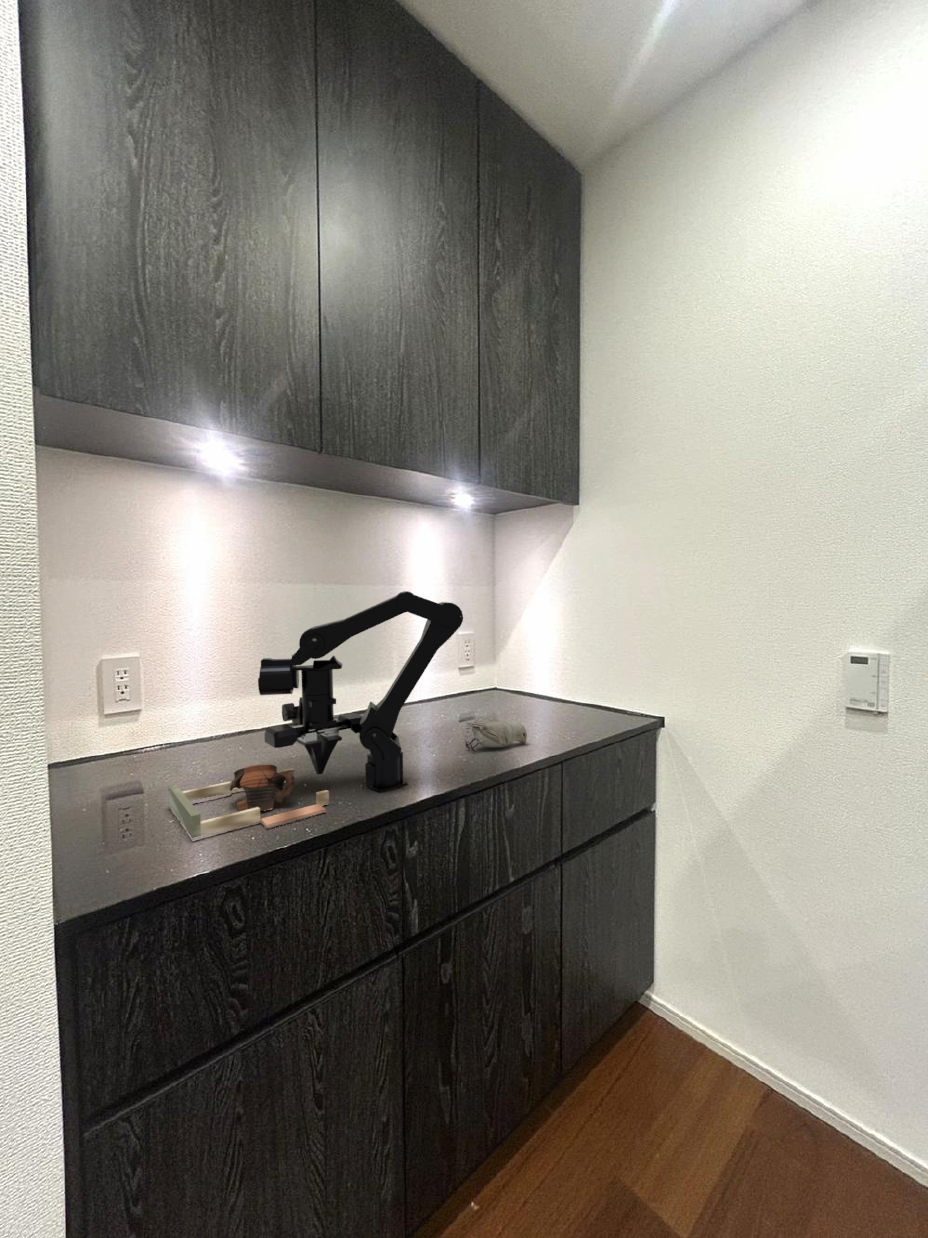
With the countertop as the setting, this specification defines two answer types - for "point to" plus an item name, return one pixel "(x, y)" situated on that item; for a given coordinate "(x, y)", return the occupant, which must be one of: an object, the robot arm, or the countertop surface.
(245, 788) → the pottery mug
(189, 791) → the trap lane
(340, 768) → the countertop surface
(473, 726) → the decorative bird
